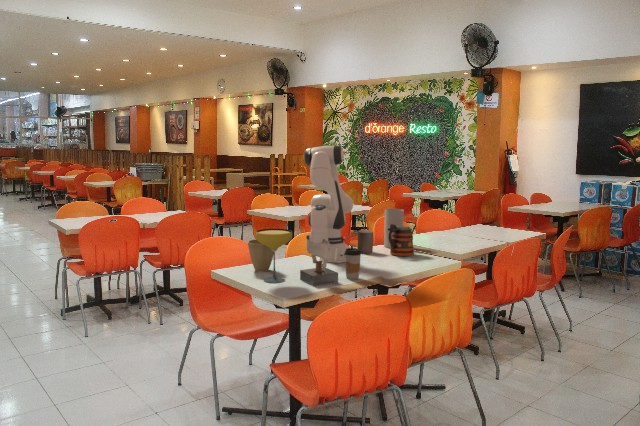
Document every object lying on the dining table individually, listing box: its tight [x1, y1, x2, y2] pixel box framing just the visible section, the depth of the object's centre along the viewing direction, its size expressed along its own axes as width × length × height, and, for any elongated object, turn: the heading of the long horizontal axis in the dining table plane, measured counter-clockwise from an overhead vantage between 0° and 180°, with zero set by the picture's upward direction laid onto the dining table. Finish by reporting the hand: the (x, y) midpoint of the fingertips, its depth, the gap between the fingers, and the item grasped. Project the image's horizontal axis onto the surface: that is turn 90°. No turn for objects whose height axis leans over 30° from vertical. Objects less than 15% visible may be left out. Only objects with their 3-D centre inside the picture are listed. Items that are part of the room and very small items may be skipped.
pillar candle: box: [357, 229, 374, 255], centre depth 336 cm, size 10×10×15 cm
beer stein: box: [388, 224, 415, 257], centre depth 329 cm, size 19×15×20 cm
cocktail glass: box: [255, 228, 293, 284], centre depth 266 cm, size 18×18×25 cm
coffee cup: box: [344, 247, 362, 281], centre depth 271 cm, size 8×8×15 cm
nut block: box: [299, 267, 339, 287], centre depth 266 cm, size 14×14×5 cm
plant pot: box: [247, 238, 274, 273], centre depth 288 cm, size 15×15×16 cm
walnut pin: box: [315, 260, 323, 273], centre depth 266 cm, size 3×3×10 cm
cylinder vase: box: [383, 208, 405, 249], centre depth 354 cm, size 12×12×25 cm
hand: (319, 265), depth 266 cm, fingers open, 8 cm apart
